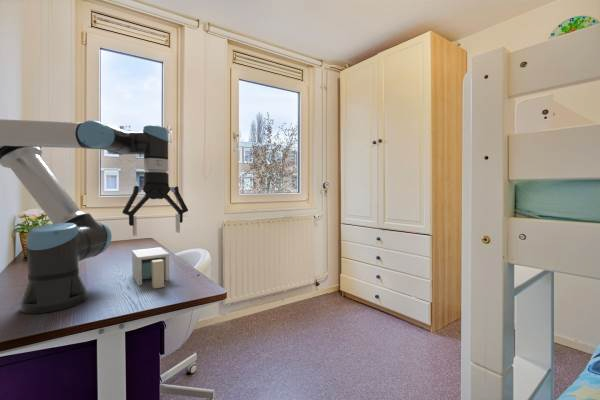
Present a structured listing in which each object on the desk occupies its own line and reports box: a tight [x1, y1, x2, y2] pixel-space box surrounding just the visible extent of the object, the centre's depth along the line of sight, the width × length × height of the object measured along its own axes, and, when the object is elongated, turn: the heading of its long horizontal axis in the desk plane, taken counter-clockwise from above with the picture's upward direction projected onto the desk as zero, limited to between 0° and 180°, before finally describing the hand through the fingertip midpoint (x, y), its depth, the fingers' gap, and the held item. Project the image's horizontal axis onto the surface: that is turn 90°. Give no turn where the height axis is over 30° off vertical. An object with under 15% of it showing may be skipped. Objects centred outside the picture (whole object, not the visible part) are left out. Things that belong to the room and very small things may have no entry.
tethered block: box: [142, 258, 165, 289], centre depth 108 cm, size 6×20×9 cm, turn 36°
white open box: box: [131, 246, 171, 286], centre depth 113 cm, size 10×15×10 cm
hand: (157, 233), depth 101 cm, fingers open, 13 cm apart
